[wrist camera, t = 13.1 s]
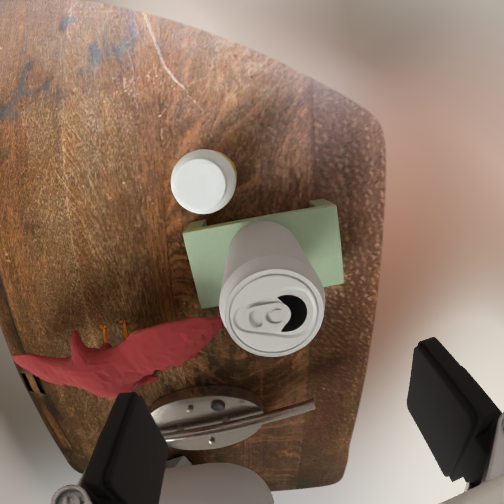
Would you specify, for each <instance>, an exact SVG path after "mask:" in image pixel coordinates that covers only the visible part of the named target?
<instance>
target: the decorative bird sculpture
mask: <svg viewBox="0 0 504 504" xmlns="http://www.w3.org/2000/svg"><path fill="white" fill-rule="evenodd" d="M120 321H121V322H118V321H117V322H118V323H121V324H123V329H124V336H125V339H124V340H123V342H121V343H120V344H119V345H117V346H115V347H112V346H111V345H110V344H109V343H108V342H107V335H106V329H107V328H106V326H105V325H104V326H102V325H101V324H100V326H98V327H99V328H102V329H103V333H104V341H105V343H104V344H102V346H101V348H100V349H97V348H88V347H86V346H85V345H84V343H83V342H82V340H81V338H80V335H79V332H78V330H77V329H75V330H74V331H73V332H72V334H71V353H72V356H71V357H69V358H53V357H47V356H40V355H36V354H29V353H27V354H20V355H14V356H12V359H13V360H14V361H15V362H16V363H17V364H18V365H20V366H21V367H22V368H24V369H26V370H27V371H29V372H31V373H33V374H34V375H35V376H37V377H40V378H41V379H43V380H45V381H47V382H49V383H52V384H61V385H66V386H67V385H70V386H75V387H79V388H84V389H85V390H87V391H89V392H91V393H92V394H94V395H97V396H99V397H103V398H109V397H117V396H118V394H119V393H126V392H132V391H133V390H135V389H136V388H138V387H139V386H144V385H145V384H147V383H150V382H153V381H155V380H157V379H158V377H157V376H153V375H151V374H153V373H154V372H155V370H161V371H166V370H167V369H168V366H169V365H170V366H182V365H183V364H184V361H185V360H189V359H191V358H195V357H196V356H198V352H199V351H200V350H202V349H203V348H204V347H205V346H207V344H208V343H209V342H210V340H211V339H212V338H213V337H214V336H216V334H217V333H218V331H219V330H220V329H221V327H222V326H223V325H224V323H223V321H222V318H221V317H192V318H187V319H182V320H178V321H169V322H166V323H162V324H159V325H156V326H153V327H149V328H144V329H140V330H136V331H134V332H132V333H131V334H130V335H129V336H127V329H126V324H127V322H126V320H125V321H122V320H121V319H120Z"/></svg>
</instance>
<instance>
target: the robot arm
mask: <svg viewBox="0 0 504 504" xmlns="http://www.w3.org/2000/svg"><path fill="white" fill-rule="evenodd" d="M407 407H408V410H409V412H410V413H411V415H412V417H413V419H414V421H415V422H416V424H417V426H418V428H419V430H420V431H421V433H422V435H423V437H424V439H425V440H426V442H427V444H428V446H429V448H430V450H431V451H432V453H433V455H434V457H435V459H436V461H437V463H438V465H439V467H440V468H441V470H442V472H443V474H444V475H445V476H446V477H447V476H449V477H450V479H451V480H452V482H453V481H455V480H457V479H460V478H461V477H464V479H465V481H466V482H467V484H466V488H465V491H464V493H462V494H460V495H458V496H456V497H453V498H451V499H449V500H447V501H445V502H442V503H440V504H504V413H502V412H501V411H500V410H499V409H498V408H497V406H496V405H495V404H494V403H493V401H492V400H491V399H490V398H489V397H488V395H487V394H486V393H485V392H484V390H483V389H482V388H481V387H480V386H479V385H478V383H477V382H476V381H475V380H474V379H473V377H471V375H470V374H469V373H468V372H467V370H466V369H465V368H463V367H462V366H460V365H459V363H458V362H457V361H456V360H455V359H454V358H453V357H452V355H451V354H450V353H449V352H448V351H447V350H446V349H445V348H444V346H443V345H442V344H441V343H440V342H439V341H438V340H437V339H436V338H435V337H432V338H429V339H426V340H423V341H420V342H419V343H418V346H417V347H415V348H414V354H413V362H412V370H411V378H410V386H409V392H408V398H407ZM168 451H169V450H168V444H167V442H166V440H165V439H164V437H163V435H162V433H161V432H160V430H159V428H158V426H157V424H156V422H155V421H154V419H153V417H152V415H151V413H150V411H149V409H148V407H147V405H146V403H145V401H144V399H143V398H142V397H141V396H138V395H137V393H135V392H126V393H119V394H118V396H117V398H116V400H115V403H114V405H113V407H112V410H111V412H110V414H109V417H108V419H107V421H106V424H105V426H104V429H103V431H102V432H101V434H100V437H99V439H98V442H97V444H96V447H95V449H94V452H93V454H92V457H91V459H90V462H89V464H88V467H87V469H86V472H85V475H84V477H83V480H82V483H81V485H80V486H77V485H66V486H63V487H61V488H60V489H58V491H56V492H55V494H54V495H53V497H52V500H51V504H159V500H160V494H161V489H162V483H163V478H164V473H165V468H166V462H167V457H168Z"/></svg>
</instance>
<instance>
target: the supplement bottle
mask: <svg viewBox="0 0 504 504" xmlns="http://www.w3.org/2000/svg"><path fill="white" fill-rule="evenodd" d="M236 182H237V171H236V168H235V165H234V163H233V162H232V161H231V159H230V158H229V157H227V156H226V155H225V154H223V153H221V152H218V151H214V150H208V149H200V150H195V151H192V152H190V153H188V154H186V155H184V156H183V157H182V158H181V159H180V160H179V161H178V162H177V164H176V165H175V167H174V169H173V172H172V176H171V188H172V192H173V194H174V197H175V198H176V200H177V201H178V203H179V204H180V205H181V206H183V207H184V208H185V209H187V210H189V211H191V212H194V213H198V214H209V213H213V212H216V211H218V210H220V209H221V208H223V207H224V206H225V205H226V204H227V203H228V202H229V201H230V199H231V198H232V196H233V195H234V192H235V188H236Z"/></svg>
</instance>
